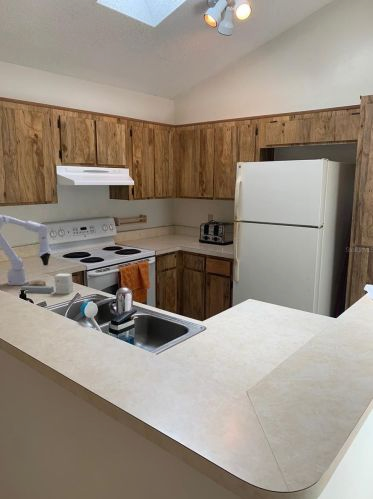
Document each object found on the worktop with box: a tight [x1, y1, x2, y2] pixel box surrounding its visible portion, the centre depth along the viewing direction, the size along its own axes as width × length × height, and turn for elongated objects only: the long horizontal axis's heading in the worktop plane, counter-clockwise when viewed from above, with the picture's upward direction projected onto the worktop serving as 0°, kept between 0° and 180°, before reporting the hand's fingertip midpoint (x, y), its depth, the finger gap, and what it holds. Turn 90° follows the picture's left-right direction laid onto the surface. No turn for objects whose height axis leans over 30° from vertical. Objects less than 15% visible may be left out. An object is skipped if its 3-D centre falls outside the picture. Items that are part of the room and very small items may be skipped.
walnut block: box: [27, 280, 47, 286], centre depth 222 cm, size 8×6×4 cm
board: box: [20, 285, 55, 294], centre depth 217 cm, size 18×3×3 cm, turn 83°
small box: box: [54, 273, 74, 295], centre depth 215 cm, size 8×6×10 cm
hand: (45, 265), depth 239 cm, fingers closed
